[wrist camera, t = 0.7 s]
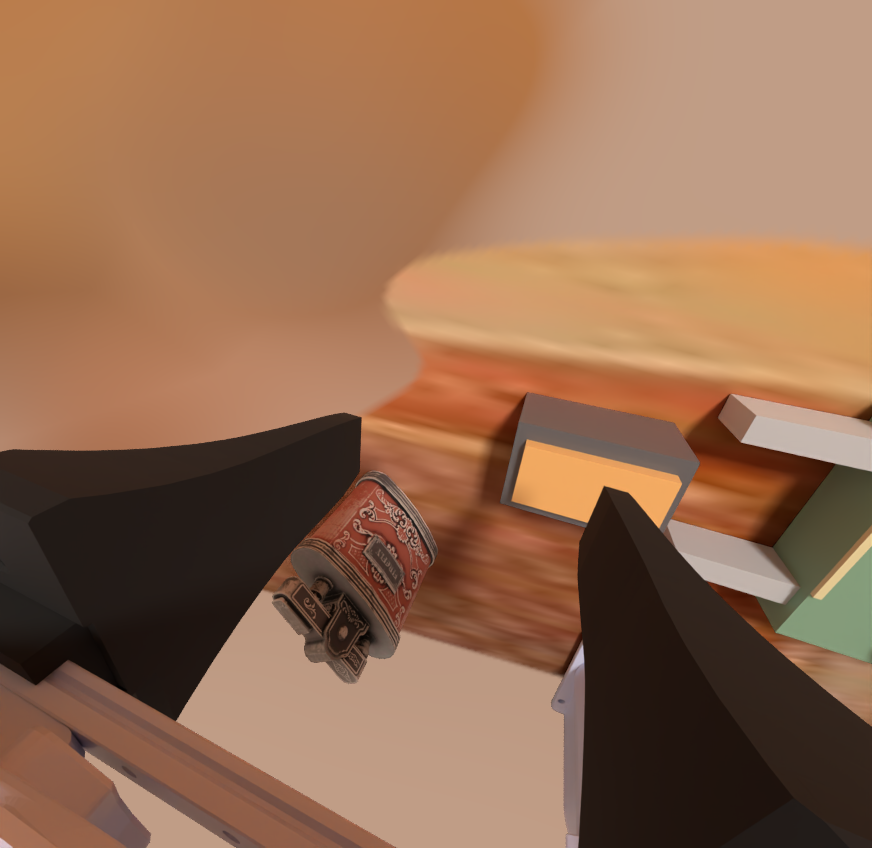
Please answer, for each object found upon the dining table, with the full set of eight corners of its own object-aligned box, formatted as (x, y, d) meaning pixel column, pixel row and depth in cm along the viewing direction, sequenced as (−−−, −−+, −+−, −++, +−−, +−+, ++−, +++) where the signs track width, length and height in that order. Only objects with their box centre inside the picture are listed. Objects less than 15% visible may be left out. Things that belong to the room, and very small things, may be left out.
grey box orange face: (639, 495, 19) (658, 557, 15) (510, 462, 21) (497, 510, 17) (673, 421, 17) (705, 471, 13) (527, 391, 19) (517, 427, 15)
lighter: (448, 554, 25) (387, 708, 17) (412, 564, 27) (339, 709, 18) (385, 463, 24) (282, 581, 15) (351, 479, 25) (240, 594, 17)
